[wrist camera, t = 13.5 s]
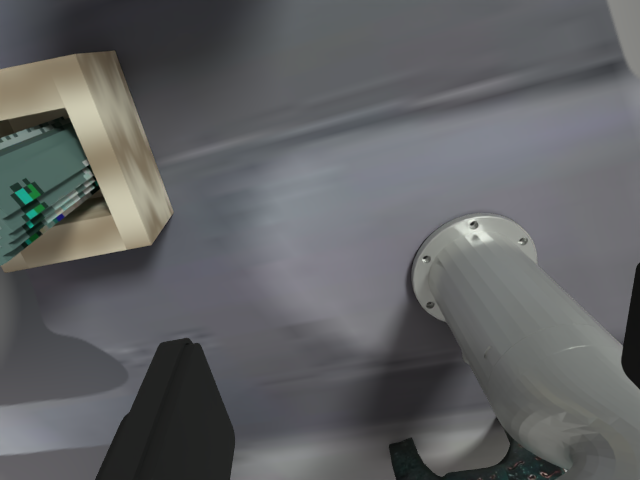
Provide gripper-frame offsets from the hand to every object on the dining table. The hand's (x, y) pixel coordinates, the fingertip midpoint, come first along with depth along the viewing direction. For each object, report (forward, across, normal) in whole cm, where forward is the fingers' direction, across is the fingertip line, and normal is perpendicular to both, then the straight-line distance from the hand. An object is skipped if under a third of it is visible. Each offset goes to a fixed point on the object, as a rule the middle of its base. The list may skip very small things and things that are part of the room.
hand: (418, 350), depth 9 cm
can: (+30, +21, -1) cm, 37 cm away
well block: (+30, +22, -1) cm, 37 cm away
